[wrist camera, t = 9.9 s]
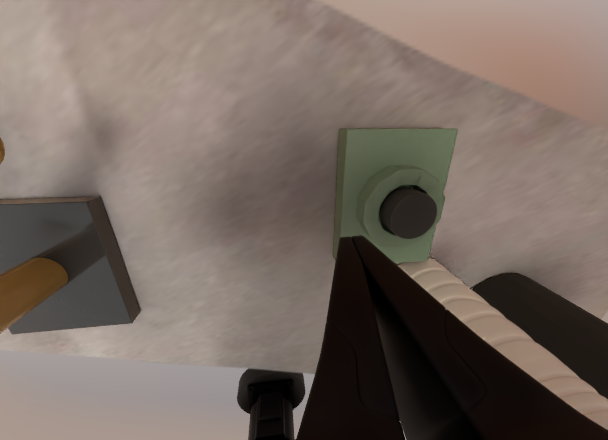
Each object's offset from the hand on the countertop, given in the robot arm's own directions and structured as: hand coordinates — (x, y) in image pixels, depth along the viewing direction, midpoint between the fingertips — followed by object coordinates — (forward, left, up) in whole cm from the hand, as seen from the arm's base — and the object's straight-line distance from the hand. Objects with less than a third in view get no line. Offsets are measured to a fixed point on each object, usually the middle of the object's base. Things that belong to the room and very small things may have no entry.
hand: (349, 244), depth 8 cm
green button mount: (-2, -7, -12) cm, 15 cm away
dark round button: (-2, -7, -9) cm, 12 cm away
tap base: (-7, +22, -12) cm, 26 cm away
